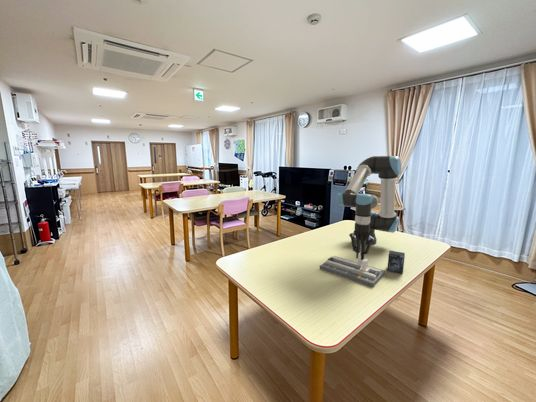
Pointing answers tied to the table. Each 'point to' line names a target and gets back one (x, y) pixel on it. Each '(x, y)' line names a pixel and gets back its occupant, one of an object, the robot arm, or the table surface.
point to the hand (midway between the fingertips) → (359, 264)
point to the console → (352, 271)
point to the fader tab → (365, 265)
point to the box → (396, 261)
